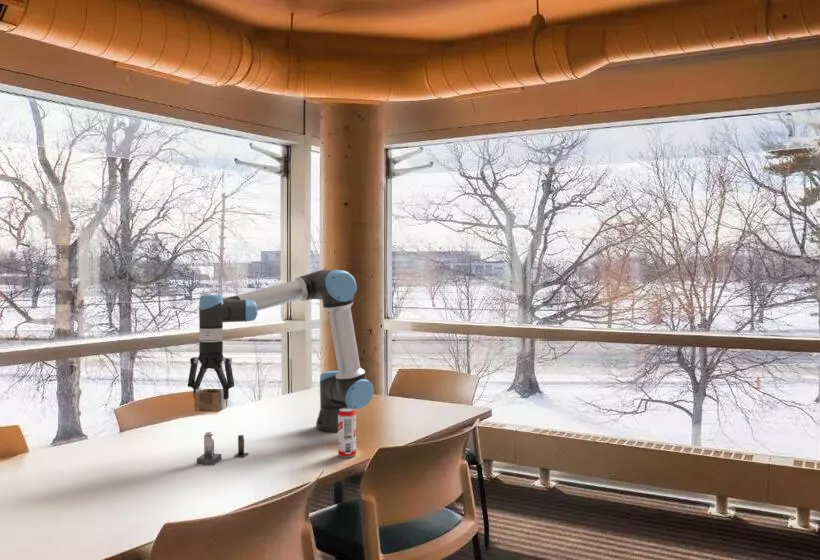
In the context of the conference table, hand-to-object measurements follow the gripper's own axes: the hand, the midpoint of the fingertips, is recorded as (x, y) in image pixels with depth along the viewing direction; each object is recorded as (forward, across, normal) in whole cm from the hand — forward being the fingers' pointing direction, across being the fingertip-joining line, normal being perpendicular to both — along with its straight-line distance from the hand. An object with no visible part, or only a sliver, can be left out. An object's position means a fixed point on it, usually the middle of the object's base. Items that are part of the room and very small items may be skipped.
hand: (211, 408), depth 219 cm
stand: (+18, +8, +8) cm, 21 cm away
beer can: (+18, +44, +12) cm, 49 cm away
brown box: (0, 0, 0) cm, 0 cm away
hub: (+18, 0, 0) cm, 18 cm away
